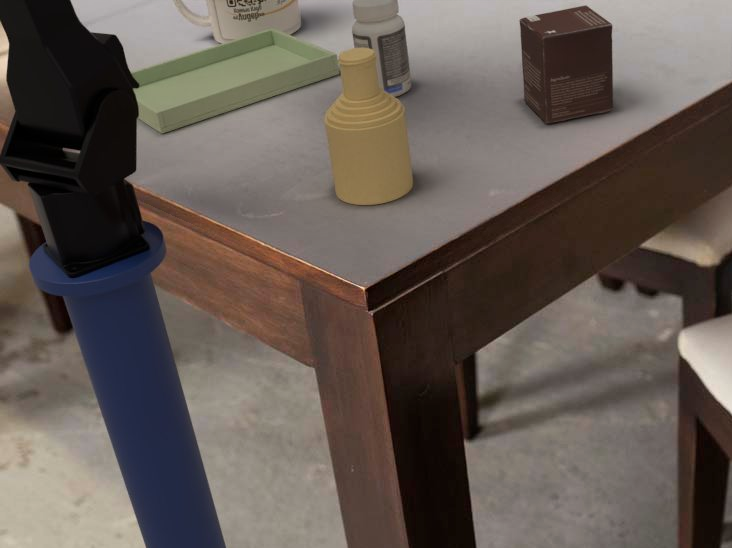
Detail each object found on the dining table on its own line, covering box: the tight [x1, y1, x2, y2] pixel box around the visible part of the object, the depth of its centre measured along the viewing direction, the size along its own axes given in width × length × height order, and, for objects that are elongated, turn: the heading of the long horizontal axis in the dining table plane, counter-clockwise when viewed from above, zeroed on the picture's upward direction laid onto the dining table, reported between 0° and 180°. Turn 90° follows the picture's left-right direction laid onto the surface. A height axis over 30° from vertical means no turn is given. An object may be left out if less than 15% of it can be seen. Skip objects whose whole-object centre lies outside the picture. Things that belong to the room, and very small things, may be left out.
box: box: [518, 5, 614, 124], centre depth 91 cm, size 6×6×7 cm
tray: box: [130, 28, 340, 135], centre depth 108 cm, size 19×13×2 cm
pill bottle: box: [351, 0, 412, 98], centre depth 100 cm, size 5×5×8 cm
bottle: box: [324, 48, 414, 206], centre depth 82 cm, size 6×6×10 cm
